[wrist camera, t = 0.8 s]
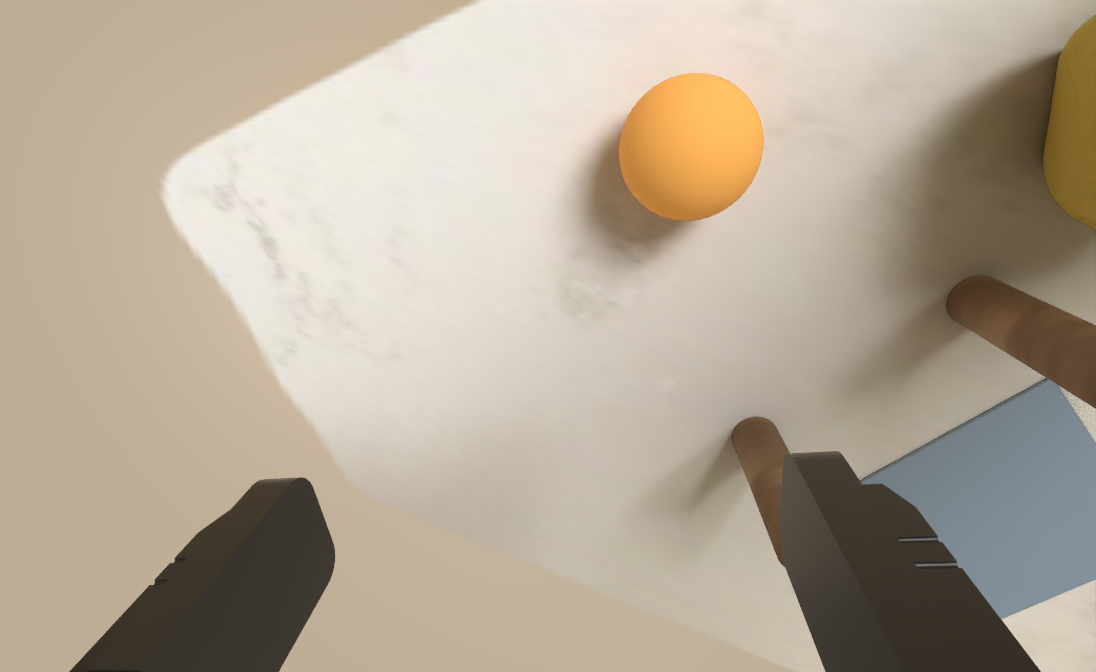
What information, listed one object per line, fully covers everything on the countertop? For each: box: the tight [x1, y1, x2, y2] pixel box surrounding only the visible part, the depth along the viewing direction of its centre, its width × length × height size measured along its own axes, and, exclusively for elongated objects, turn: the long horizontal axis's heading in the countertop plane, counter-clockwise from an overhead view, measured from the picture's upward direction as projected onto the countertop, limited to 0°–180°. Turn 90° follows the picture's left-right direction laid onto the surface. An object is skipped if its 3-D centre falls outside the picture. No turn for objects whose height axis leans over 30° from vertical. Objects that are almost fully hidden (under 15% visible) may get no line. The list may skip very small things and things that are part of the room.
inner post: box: [947, 276, 1096, 408], centre depth 24 cm, size 3×3×9 cm
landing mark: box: [860, 378, 1096, 619], centre depth 34 cm, size 15×15×1 cm
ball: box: [619, 73, 763, 221], centre depth 24 cm, size 6×6×6 cm
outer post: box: [732, 417, 790, 567], centre depth 28 cm, size 3×3×9 cm
